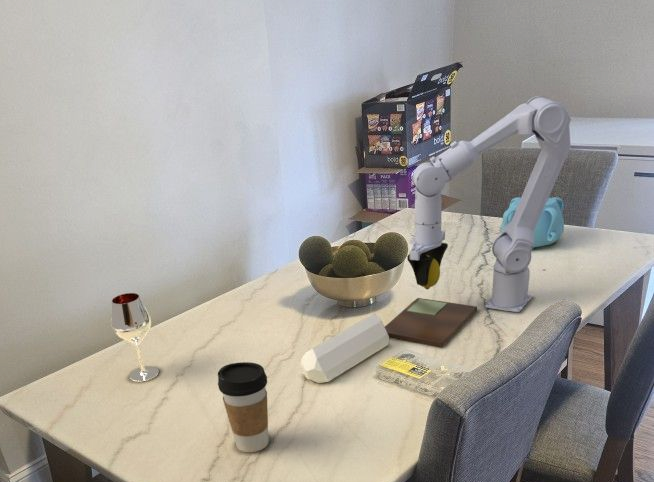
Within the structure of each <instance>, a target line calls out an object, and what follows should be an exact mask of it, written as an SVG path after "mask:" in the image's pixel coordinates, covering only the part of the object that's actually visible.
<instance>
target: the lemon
mask: <svg viewBox="0 0 654 482" xmlns="http://www.w3.org/2000/svg"><path fill="white" fill-rule="evenodd" d="M428 257H430V256H428ZM440 276H441V266H440V267H439V264H438V262H437V261H436V260H435V259H434V258H433V260H432V263H431V266H430V269H429V276H428V282H427V285H426V286H423V285H419V286H420V287H422V288H424V289H425V290H430V289H431V288H433V287H434V286H435V285H437V284H438V282H439V280H440Z"/></svg>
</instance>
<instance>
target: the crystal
mask: <svg viewBox="0 0 654 482" xmlns="http://www.w3.org/2000/svg"><path fill="white" fill-rule="evenodd" d="M389 345H390V338H389V336H388V334H387V331H386V329H385V325H384V323H383V321H382V319H381V317H380V316H379V315H377V314H376V313H372V314H371V315H369V316H367V317H365V318H363V319H361V320H360V321H358V322H356V323H355V324H353V325H351V326H349V327H348V328H345V329H344V330H342V331H340V332H339V333H337V334H335V335H333V336H331V337H330V338H328V339H327V340H324V341H323V342H321V343H319V344H317V345H316V346H314V347H312V348H311V349H310V350H308V351H307V352H305V353H304V354H303V357H302V359H301V361H300V362H299V365H300V369H301V372H302V373H303V375H304V376H305V378H306V379H308V380H309V381H312V382H315V383H317V384H322V383H328V382H331V381H332V380H333V379H335V378H337V377H339V376H340V375H342V374H343V373H345V372H346V371H348V370H350V369H352V368H353V367H355V366H356V365H358V364H359V363H361V362H362V361H364V360H366V359H367V358H369V357H370V356H371V357H372V355H374V354H375V353H377V352H378V351H379V352H380V350H382V349H384V348H385V347H387V346H389Z"/></svg>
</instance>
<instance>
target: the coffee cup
mask: <svg viewBox="0 0 654 482" xmlns="http://www.w3.org/2000/svg"><path fill="white" fill-rule="evenodd" d="M267 385H268V376H267V374H266V372H265V369H264V367H263V366H262V365H261V364H259V363H256V362H248V361H243V362H233V363H229V364H226V365H224V366H221V368H219V370H218V372H217V386H218V390H219V391H220V393H222V402H223V405H224V408H225V411H226V415H227V418H228V422H229V424H230V429H231V431H232V435H233V438H234V442H235V446H236V448H237V449H238V450H239V451H240V452H244V453H257V452H260V451H262V450H263V449H266V447H267V446H268V444H269V442H270V441H269V439H270V437H269V414H268V391H267V388H266V386H267Z"/></svg>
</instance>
